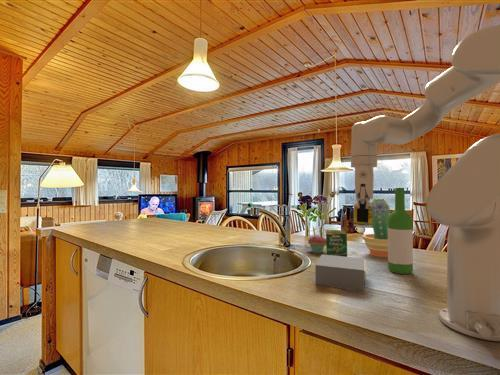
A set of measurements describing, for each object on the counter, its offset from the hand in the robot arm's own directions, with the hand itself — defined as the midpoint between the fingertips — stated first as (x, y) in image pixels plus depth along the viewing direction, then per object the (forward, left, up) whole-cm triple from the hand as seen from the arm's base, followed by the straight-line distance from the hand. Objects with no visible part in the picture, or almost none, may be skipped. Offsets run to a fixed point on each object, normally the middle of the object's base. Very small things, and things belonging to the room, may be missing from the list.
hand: (362, 219), depth 83 cm
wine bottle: (+18, -12, -20) cm, 30 cm away
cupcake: (+37, +20, -20) cm, 47 cm away
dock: (+1, +7, -20) cm, 21 cm away
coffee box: (+21, +10, -20) cm, 31 cm away
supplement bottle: (0, 0, -2) cm, 2 cm away
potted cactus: (+42, -7, -20) cm, 47 cm away
